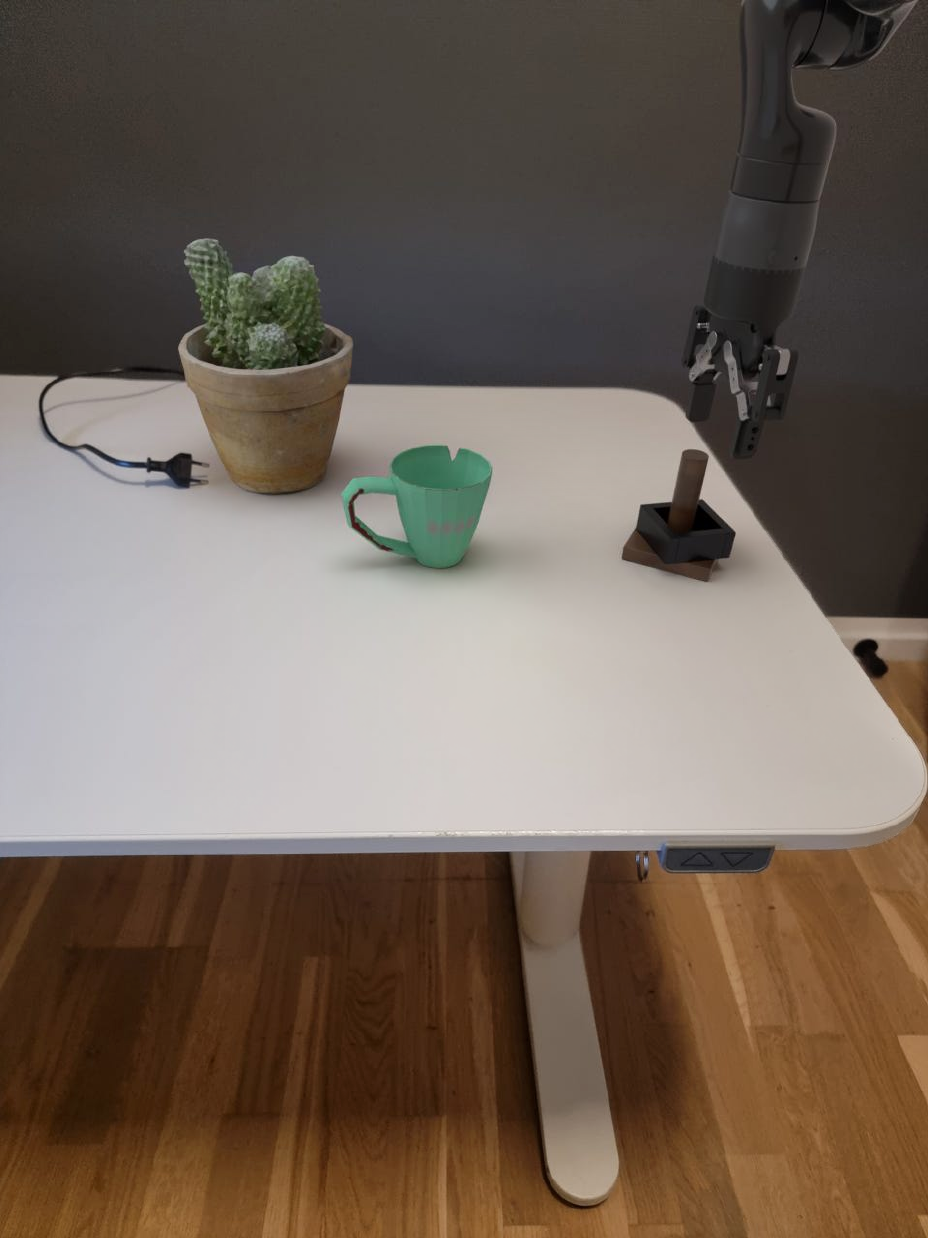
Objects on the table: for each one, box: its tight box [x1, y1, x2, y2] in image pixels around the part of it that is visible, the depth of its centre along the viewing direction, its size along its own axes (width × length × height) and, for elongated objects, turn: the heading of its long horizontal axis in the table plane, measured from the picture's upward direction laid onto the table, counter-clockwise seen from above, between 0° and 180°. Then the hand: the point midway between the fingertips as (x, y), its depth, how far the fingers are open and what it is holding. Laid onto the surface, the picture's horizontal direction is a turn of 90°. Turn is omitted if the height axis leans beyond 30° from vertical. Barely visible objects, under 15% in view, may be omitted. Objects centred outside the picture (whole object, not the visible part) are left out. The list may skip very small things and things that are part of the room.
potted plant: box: [177, 238, 354, 495], centre depth 94 cm, size 18×19×25 cm
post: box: [621, 448, 719, 583], centre depth 88 cm, size 9×9×11 cm
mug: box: [340, 444, 493, 569], centre depth 85 cm, size 15×10×10 cm
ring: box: [635, 498, 737, 565], centre depth 89 cm, size 7×7×3 cm
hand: (717, 437), depth 81 cm, fingers open, 8 cm apart
